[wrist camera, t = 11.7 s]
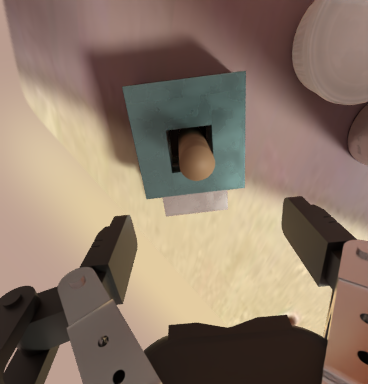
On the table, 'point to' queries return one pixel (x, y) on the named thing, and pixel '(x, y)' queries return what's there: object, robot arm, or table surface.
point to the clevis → (185, 118)
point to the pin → (194, 154)
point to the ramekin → (334, 50)
